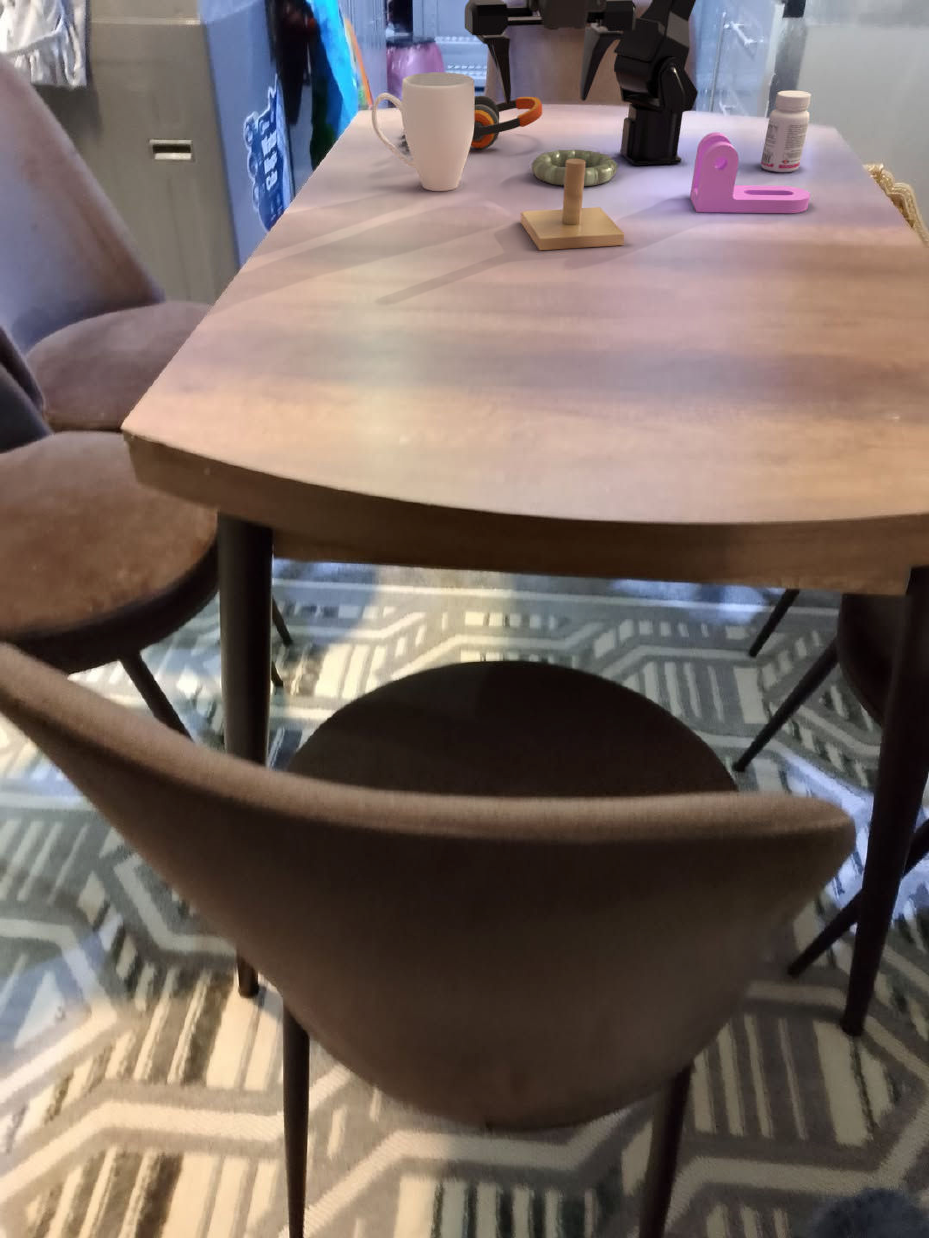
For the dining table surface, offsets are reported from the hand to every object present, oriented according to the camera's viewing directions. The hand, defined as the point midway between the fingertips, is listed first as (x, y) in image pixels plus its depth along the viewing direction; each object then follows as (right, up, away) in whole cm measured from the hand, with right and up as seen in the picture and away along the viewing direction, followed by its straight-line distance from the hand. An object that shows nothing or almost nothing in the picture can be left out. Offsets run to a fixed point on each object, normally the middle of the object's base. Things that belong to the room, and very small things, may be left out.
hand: (545, 101), depth 108 cm
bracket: (+23, -14, -3) cm, 27 cm away
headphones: (-9, +4, +18) cm, 21 cm away
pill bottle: (+31, -4, +9) cm, 32 cm away
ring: (+4, -5, +5) cm, 9 cm away
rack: (+2, -20, -10) cm, 23 cm away
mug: (-15, -9, +3) cm, 17 cm away
